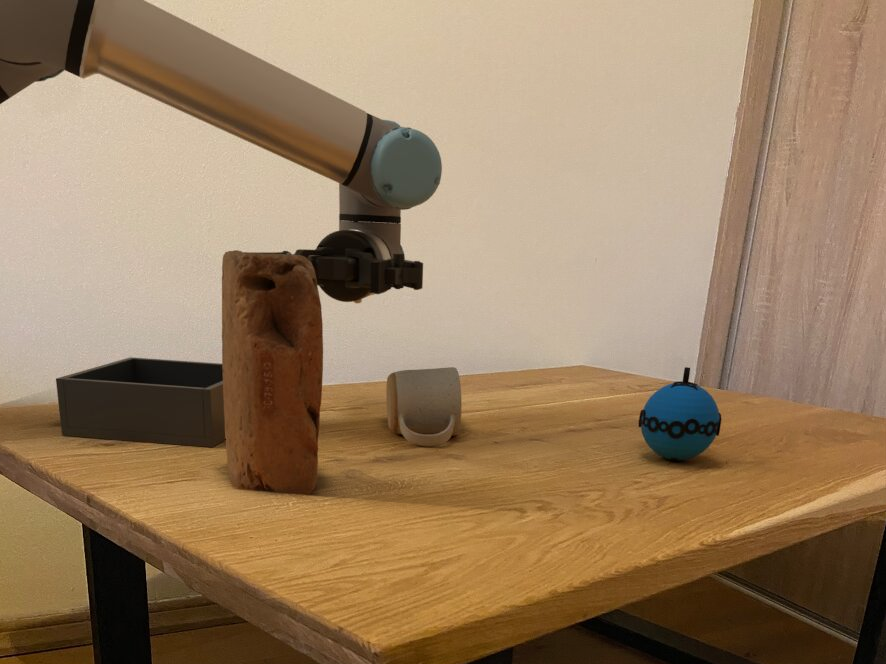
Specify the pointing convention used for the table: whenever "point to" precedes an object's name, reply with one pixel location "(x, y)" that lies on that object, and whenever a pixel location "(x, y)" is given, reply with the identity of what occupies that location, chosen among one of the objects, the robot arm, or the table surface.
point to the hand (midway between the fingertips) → (302, 273)
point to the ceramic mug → (424, 405)
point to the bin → (145, 402)
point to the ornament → (680, 420)
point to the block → (271, 371)
